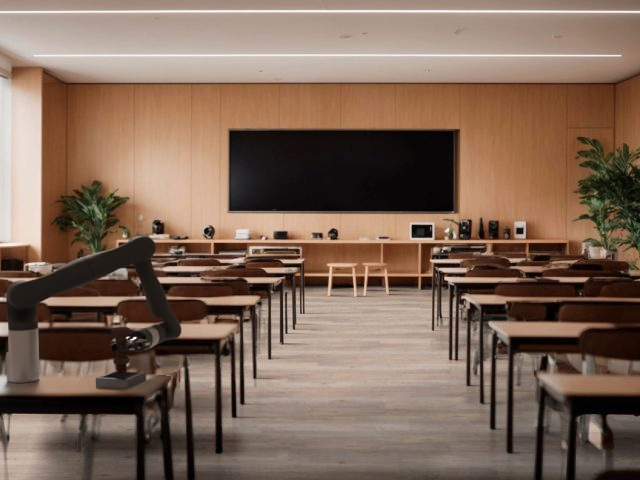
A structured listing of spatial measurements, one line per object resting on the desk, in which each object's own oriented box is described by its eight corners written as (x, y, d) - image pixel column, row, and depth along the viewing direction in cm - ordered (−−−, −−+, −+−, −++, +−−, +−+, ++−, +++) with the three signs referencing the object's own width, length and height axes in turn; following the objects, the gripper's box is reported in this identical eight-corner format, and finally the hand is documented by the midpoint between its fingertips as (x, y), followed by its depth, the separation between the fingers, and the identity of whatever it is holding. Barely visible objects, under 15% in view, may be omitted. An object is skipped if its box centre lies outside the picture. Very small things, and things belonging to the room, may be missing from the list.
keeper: (95, 387, 224) (95, 377, 224) (115, 379, 235) (115, 370, 235) (127, 389, 221) (127, 379, 221) (146, 381, 232) (145, 372, 232)
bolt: (124, 376, 225) (123, 329, 224) (110, 376, 226) (108, 329, 225) (133, 372, 231) (131, 326, 230) (118, 371, 232) (117, 326, 231)
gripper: (125, 327, 244) (96, 336, 227) (161, 328, 240) (135, 337, 223) (125, 348, 244) (97, 359, 227) (162, 350, 240) (136, 361, 223)
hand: (116, 348), depth 225 cm, fingers closed on bolt, 3 cm apart
